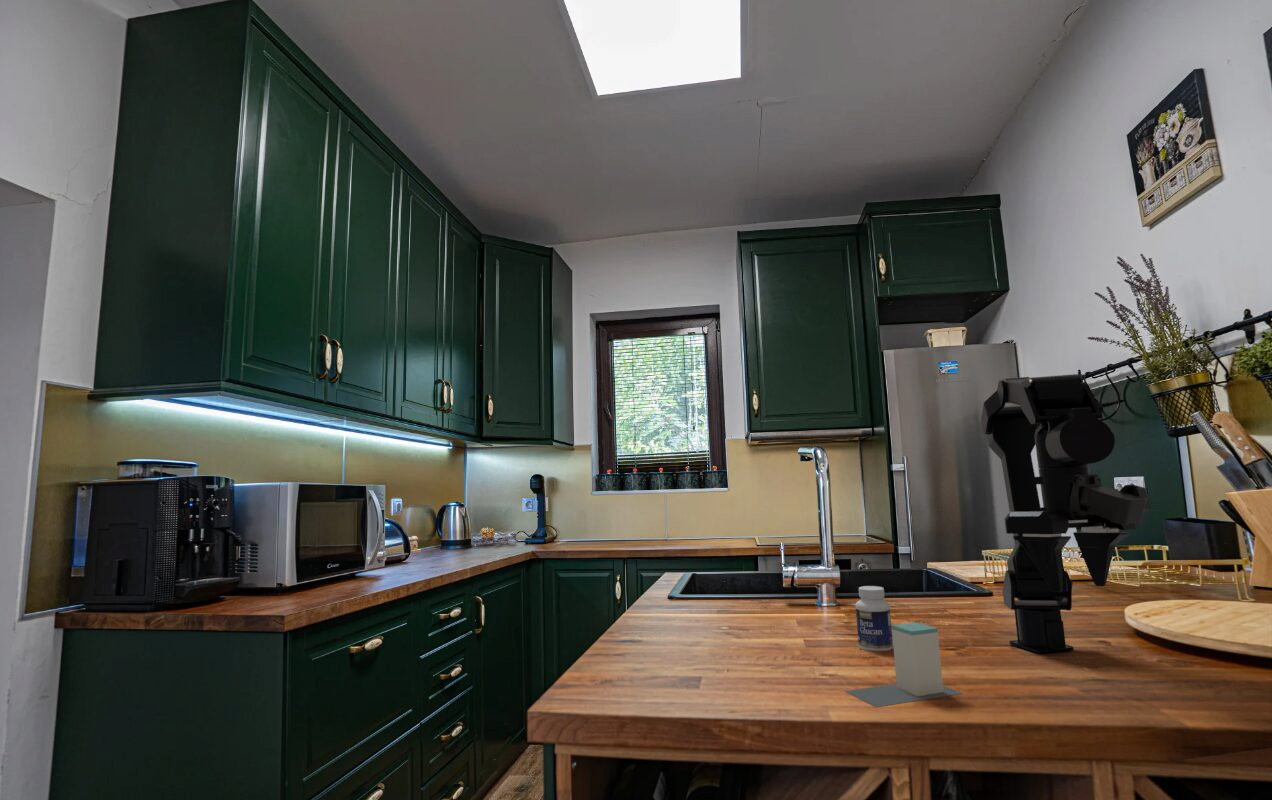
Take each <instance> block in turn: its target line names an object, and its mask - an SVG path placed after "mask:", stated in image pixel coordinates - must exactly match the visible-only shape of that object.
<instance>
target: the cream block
mask: <svg viewBox="0 0 1272 800" xmlns="http://www.w3.org/2000/svg"><path fill="white" fill-rule="evenodd" d="M891 629H892V641H893V656H894V658H893V660H894V669H895V670H894V671H895V681H896V683H895V684H897V687H898V688H900V689H902V690H904V691H907V692H909V693H911V694H913V695H916V696H922V695H928V694H935V693H941V692H943V686H944V684H943V675H942V664H941V654H940V653H941V652H940V641H939V633H938V631H939V630H938V628H937V627H934V626H932V625H927V624H923V623H921V622H907V623H901V624H900V623H899V624H891Z"/></svg>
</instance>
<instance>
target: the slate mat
mask: <svg viewBox="0 0 1272 800" xmlns="http://www.w3.org/2000/svg"><path fill="white" fill-rule="evenodd" d="M844 692H845V693H846V694H848V695H851V696H852V697H853V698H856V699H858V700H860V701H862V702H865V704H866V703H867V704H868V705H870V706H872V707H874V708H879V707H887V706H893V705H899V704H906V703H912V702H913V703H914V702H919V701H925V700H931V699H937V698H944V697H951V696H956V695H963V694H964V693H963V692H960V691H958V690H955V689H953V688H950V687H948V686H946V685H943V692H941V693H935V694H928V695H922V696H916V695H913V694H911V693H909V692H907V691H904V690H902V689H900V688H898V687H897V683H890V684H885V685H884V684H883V685H879V686H877V685H876V686H871V687H864V688H858V689H857V688H855V689H851V690H844Z"/></svg>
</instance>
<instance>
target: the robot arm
mask: <svg viewBox="0 0 1272 800" xmlns="http://www.w3.org/2000/svg"><path fill="white" fill-rule="evenodd" d="M1083 380H1084V379H1083V378H1082V376H1081V375H1079V374H1078V373H1076V374H1064V375H1063V374H1062V375H1050V376H1049V375H1048V376H1036V377H1035V376H1033V377H1029V376H1022V377H1010V378H1009V377H1008V378H1004V379H1000V380H998V383H997V388H996V391H995V392H993V393H992V394H991V396H989V397H988V398H987V399H986V400H985V401H984V402H983V404H982V411H981V416H980V425H981V426H980V427H981V431H982V433H983V435H986V441H987V445H988V447H989V448H990V449H991V450H992V451H993V452H994V454H995V455H996V456H997V457H998V458H999V459H1000V461H1001V466H1002V473H1003V479H1004V485H1005V491H1006V492H1005V493H1006V498H1007V502H1008V503H1007V504H1008V509H1009V510H1008V511H1009V513H1007V515H1006V517H1004V519H1003V520H1004V526H1005V534H1009V535H1011V534H1012V535H1013V536H1012V537H1013V538H1012V539H1013V540H1014V546H1013V549H1012V550H1011V553H1010V555H1009V557H1008V559H1007V560H1006V566H1007V570H1005V572H1004V579H1003V585H1002V596H1003V597H1002V598H1003V603H1004V606H1006V607H1007V608H1008V609H1009V610H1013V611H1014V616H1015V617H1014V619H1015V628H1016V637H1017V639H1013V640H1009V641H1008V643H1009V644H1010V645H1012V646H1015V647H1018V648H1021V649H1023V650H1027V651H1031V652H1034V653H1036V654H1045V653H1047V654H1048V653H1055V652H1056V653H1057V652H1066V651H1073V650H1075V649H1074V646H1073V645H1069V644H1067V643H1066V636H1065V627H1064V620H1062V619H1063V618H1062V613H1061V612H1062V611H1071V610H1072V608H1073V606H1072V605H1073V604H1072V603H1073V601H1072V599H1073V598H1072V596H1073V593H1072V591H1073V584H1074V583H1073V579H1072V578H1070V576H1069V573H1068V571H1067V570H1065V567H1064V562H1063V548H1064V547H1065V546H1066V545H1067V543H1069V541H1070V539H1071V538H1072V536H1071V535H1069V536H1067V535H1065V536H1063V535H1064V534H1067V533H1068V530H1069V529H1076V530H1081V531H1075V532H1073V536H1074V538H1075V541H1076V544H1077V547H1078V549H1079V551H1080V554H1081V555H1082V558H1083V561H1084V564H1085V566H1086V568H1087V570H1088V573H1089V575H1090V577H1091V579H1092V582H1093V583H1094V585H1095V587H1102V588H1103V587H1106V586H1107V581H1108V576H1109V572H1110V567H1111V562H1112V558H1113V554H1114V551H1115V548H1116V546H1117V545H1118V543H1120V542H1121V541H1122V540H1123V539H1125V538H1126V537H1129V536H1130V534H1131V532H1130V531H1127V532H1126V530H1136V529H1137V528H1136V525H1140V524H1142V521H1143V517H1144V513H1145V512H1149V511H1151V510H1152V505H1151V504H1150V498H1149V497H1148V493H1147V490H1146V487H1143V486H1140V485H1136V484H1125V485H1124V486H1122V488H1120V490H1119V489H1117V488H1109V487H1106V486H1103V485H1102V479H1101V477H1100V476H1099V475H1098V474H1093V473H1092V474H1091V471H1090V467H1089V466H1090V464H1095V463H1099V462H1101V461H1103V460H1105V459H1107V458H1108V457H1109V456H1110V455H1111V454H1112V452H1113V451H1114V447H1115V443H1116V442H1115V441H1116V440H1115V435H1114V432H1113V431H1112V429H1111V428H1110V426H1108V424H1107V423H1105V422H1104V421H1103V420H1102V419H1103V405H1102V404H1101V403H1100V402H1099V400H1098V398H1097V397H1096V395H1095V394H1094V392H1093V391H1092V390H1091V388H1090V386H1089V384H1088V382H1086V381H1083ZM1006 404H1014V405H1012V406H1011V405H1009V406H1006ZM1034 448H1035V451H1036V460H1037V467H1038V475H1039V476H1036V474H1035V470H1034V463H1033V458H1032V452H1033V450H1034ZM1038 485H1040V492H1041V498H1042V499H1041V500H1042V507H1041V501H1040V497H1039V492H1038V487H1037V486H1038ZM1122 531H1123V532H1122ZM1016 599H1017V600H1016Z"/></svg>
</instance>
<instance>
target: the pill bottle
mask: <svg viewBox="0 0 1272 800" xmlns="http://www.w3.org/2000/svg"><path fill="white" fill-rule="evenodd" d="M858 596H859V598H860V599H859V600H858V601H856V603H855V617H856V629H857V644H858V648H859V649H861V650H862V651H864V650H866V651H870V652H871V651H872V652H886V651H890V650H893V649H894V647H893V635H892V618H891V607H890V603H888V601H886V600H884V598H885V589H884V587H882V586H878V585H877V586H876V585H863V586H859V587H858Z"/></svg>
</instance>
